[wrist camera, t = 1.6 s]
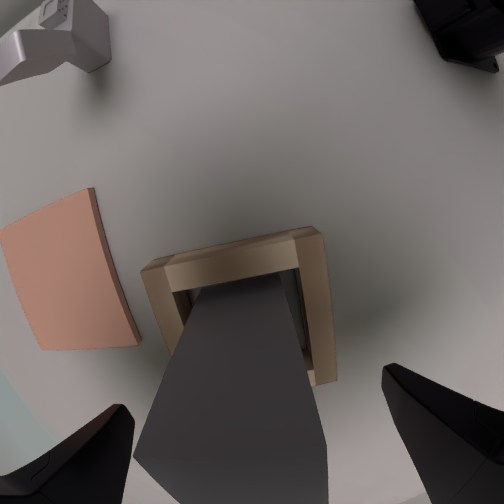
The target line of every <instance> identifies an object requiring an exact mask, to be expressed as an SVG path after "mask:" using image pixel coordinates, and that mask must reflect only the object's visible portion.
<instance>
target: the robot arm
mask: <svg viewBox="0 0 504 504" xmlns="http://www.w3.org/2000/svg"><path fill="white" fill-rule="evenodd" d="M415 1H416V3H417V5H418V7H419V9H420V11H421V13H422V15H423V16H424V18H425V20H426V22H427V25H428V27H429V29H430V31H431V33H432V35H433V38H434V40H435V42H436V44H437V47H438V49H439V52H440V54H441V56H442V57H443V58H444V59H445V60H447V61H451V62H456V63H460V64H464V65H468V66H472V67H476V68H479V69H483V70H486V71H489V72H493V73H497V72H499V67H498V64H497V61H496V59H495V55H498V54H501V53H504V0H415ZM446 52H447V53H446ZM381 386H382V390H383V393H384V396H385V398H386V401H387V404H388V407H389V410H390V412H391V415H392V418H393V421H394V424H395V426H396V428H397V430H398V432H399V434H400V436H401V438H402V440H403V442H404V444H405V446H406V448H407V451H408V453H409V455H410V457H411V459H412V461H413V463H414V465H415V467H416V470H417V472H418V474H419V476H420V478H421V480H422V483H423V485H424V487H425V489H426V491H427V494H428V496H429V498H430V501H431V503H432V504H504V411H501V410H498V409H495V408H492V407H490V406H487V405H485V404H482V403H480V402H478V401H473V399H471V398H469V397H466V396H464V395H462V394H460V393H458V392H455V391H453V390H451V389H449V388H447V387H445V386H442V385H440V384H438V383H436V382H434V381H432V380H430V379H428V378H426V377H423V376H421V375H419V374H417V373H415V372H413V371H411V370H409V369H407V368H405V367H403V366H401V365H399V364H397V363H391V364H388V365H385V366H384V367H383V370H382V382H381ZM134 428H135V421H134V418H133V417H132V415H131V414H130V412H129V411H128V409H127V408H126V406H125V405H123V404H113V405H112V406H110V407H109V408H108V409H106V410H105V411H104V412H102V413H101V414H100V415H98V416H97V417H96V418H94V419H93V420H91V421H90V422H89V423H87V424H86V425H85V426H83V427H82V428H80V429H79V430H78V431H76V432H75V433H73V434H72V435H71V436H69V437H68V438H66V439H65V440H64V441H62V442H61V443H59V444H58V445H56V446H55V447H54V448H52V449H51V450H49V451H48V452H47V453H45V454H43V455H42V456H40V457H39V458H37V459H36V460H34V461H32V462H30V463H29V464H27V465H25V466H23V467H21V468H19V469H17V470H15V471H14V472H12V473H10V474H7V475H4V476H0V504H121V503H122V498H123V493H124V488H125V483H126V478H127V473H128V469H129V464H130V459H131V453H132V444H133V436H134Z"/></svg>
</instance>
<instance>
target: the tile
mask: <svg viewBox="0 0 504 504" xmlns="http://www.w3.org/2000/svg"><path fill="white" fill-rule="evenodd" d="M0 241H1V245H2V249H3V252H4V256H5V259H6V263H7V266H8V270H9V273H10V276H11V279H12V282H13V285H14V288H15V290H16V293H17V296H18V298H19V301H20V304H21V306H22V309H23V311H24V313H25V316H26V318H27V320H28V323H29V325H30V327H31V329H32V332H33V334H34V336H35V338H36V340H37V342H38V344H39V346H40V348H41V350H76V349H97V348H113V347H126V346H137V345H139V343H140V342H141V338H140V335H139V333H138V331H137V328H136V326H135V323H134V321H133V318H132V316H131V313H130V311H129V308H128V305H127V303H126V300H125V297H124V294H123V292H122V289H121V286H120V283H119V280H118V277H117V274H116V271H115V268H114V265H113V262H112V259H111V255H110V252H109V248H108V245H107V242H106V238H105V234H104V231H103V227H102V223H101V219H100V215H99V211H98V207H97V202H96V198H95V193H94V188H87V189H84V190H82V191H79V192H77V193H75V194H72V195H70V196H68V197H65V198H63V199H61V200H59V201H56V202H54V203H52V204H50V205H48V206H46V207H44V208H42V209H39V210H37V211H35V212H33V213H31V214H29V215H27V216H25V217H23V218H22V219H20V220H18V221H16V222H14V223H12V224H10V225H8V226H7V227H5V228H3V229H1V230H0Z"/></svg>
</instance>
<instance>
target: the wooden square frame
mask: <svg viewBox="0 0 504 504" xmlns="http://www.w3.org/2000/svg"><path fill="white" fill-rule="evenodd" d="M292 268H295V273H296V279H297V285H298V291H299V297H300V303H301V310H302V316H303V323H304V329H305V336H306V343H307V348H306V349H302V350H301V351H302V355H303V358H304V362H305V365H306V369H307V373H308V376H309V380H310V384H311V387H312V386H316V385H321V384H325V383H329V382H333V381H337V362H336V348H335V335H334V324H333V313H332V303H331V294H330V286H329V277H328V270H327V262H326V255H325V248H324V241H323V235H322V233H321V232H319V231H318V230H317V229H315V228H314V227H313V226H309V227H304V228H299V229H294V230H290V231H285V232H280V233H275V234H270V235H265V236H260V237H256V238H251V239H246V240H241V241H237V242H232V243H227V244H223V245H218V246H213V247H209V248H204V249H199V250H195V251H190V252H186V253H181V254H176V255H172V256H167V257H163V258H158V259H154V260H153V261H152V262H151V263H150V264H148V265H147V266H146V267H145V268H144V269H143V270H141V271H140V273H141V276H142V279H143V282H144V285H145V288H146V291H147V294H148V297H149V300H150V303H151V306H152V308H153V311H154V314H155V317H156V319H157V322H158V325H159V327H160V330H161V332H162V335H163V337H164V340H165V342H166V345H167V347H168V350H169V352H170V354H171V357H172V355H173V353H174V350H175V348H176V346H177V343H178V341H179V338H180V336H181V334H182V331H183V329H184V327H185V324H186V322H187V320H188V318H189V315H190V313H191V311H192V307H191V304H190V301H189V298H188V295H187V291H186V290H187V289H192V288H197V287H203V286H208V285H213V284H218V283H223V282H229V281H234V280H239V279H244V278H249V277H254V276H259V275H264V274H268V273H273V272H278V271H283V270H288V269H292Z"/></svg>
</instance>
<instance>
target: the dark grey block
mask: <svg viewBox="0 0 504 504" xmlns="http://www.w3.org/2000/svg"><path fill="white" fill-rule="evenodd" d="M133 457H134V458H135V459H136V461H137V462H138V463H139V464H140V465H141V466H142V467H143V468H144V469H145V470H146V471H147V472H148V473H149V475H150V476H151V477H152V478H153V479H154V480H155V481H156V482H157V483H158V484H159V485H160V486H161V487H163V488H164V489H165V490H166V491H167V492H168V493H169V494H170V495H171V496H172V497H173V498H174V499H176V500H177V501H178V502H179V503H180V504H329V501H328V464H327V444H326V441H325V437H324V433H323V429H322V425H321V421H320V417H319V414H318V410H317V406H316V402H315V399H314V395H313V391H312V387H311V384H310V380H309V376H308V373H307V369H306V365H305V362H304V358H303V355H302V351H301V347H300V344H299V340H298V337H297V333H296V330H295V326H294V323H293V319H292V316H291V312H290V309H289V305H288V302H287V298H286V295H285V292H284V288H283V285H282V281H281V278H280V275H279V273H277V274H273V275H268V276H263V277H258V278H253V279H248V280H243V281H238V282H233V283H228V284H223V285H217V286H212V287H207V288H202V289H201V290H200V293H199V295H198V297H197V299H196V302H195V304H194V306H193V308H192V311H191V313H190V315H189V318H188V320H187V322H186V324H185V327H184V329H183V331H182V334H181V336H180V338H179V341H178V343H177V346H176V348H175V350H174V353H173V355H172V357H171V360H170V362H169V365H168V367H167V370H166V372H165V374H164V377H163V379H162V382H161V384H160V387H159V389H158V392H157V394H156V397H155V399H154V402H153V404H152V407H151V409H150V412H149V414H148V417H147V419H146V422H145V425H144V427H143V430H142V432H141V435H140V438H139V440H138V443H137V446H136V448H135V451H134V454H133Z"/></svg>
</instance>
